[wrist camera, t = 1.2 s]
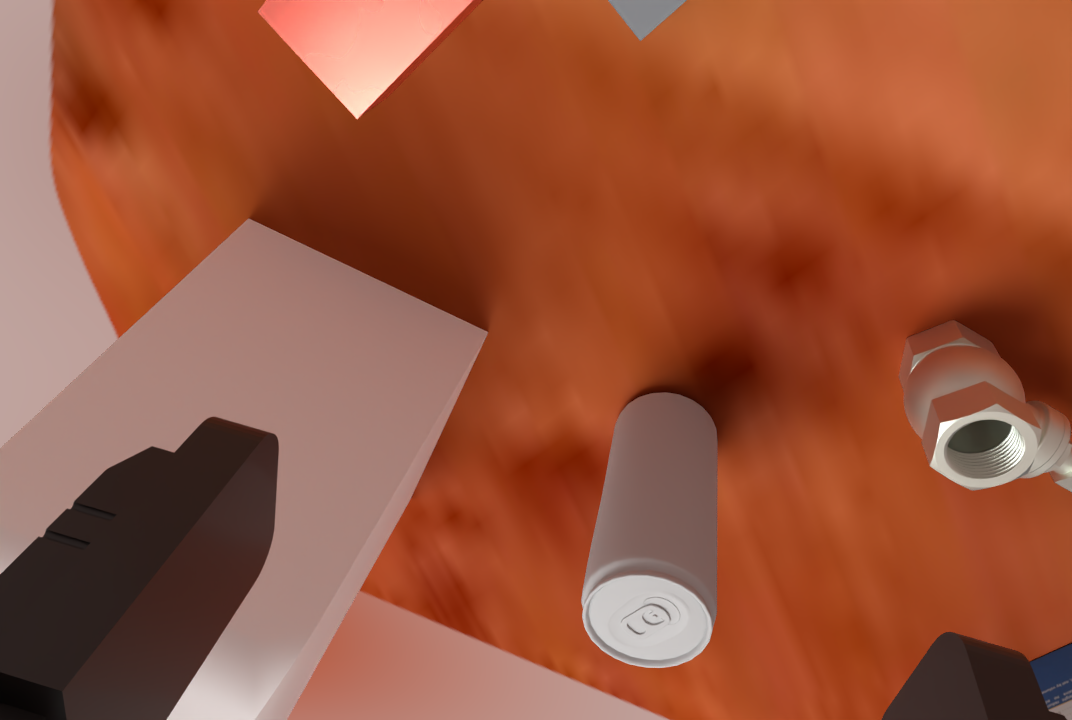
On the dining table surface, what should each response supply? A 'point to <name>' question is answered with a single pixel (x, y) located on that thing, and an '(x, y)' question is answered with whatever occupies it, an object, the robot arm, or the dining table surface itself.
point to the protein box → (1056, 680)
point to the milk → (273, 406)
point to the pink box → (364, 40)
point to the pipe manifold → (645, 13)
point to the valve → (979, 412)
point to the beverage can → (656, 536)
